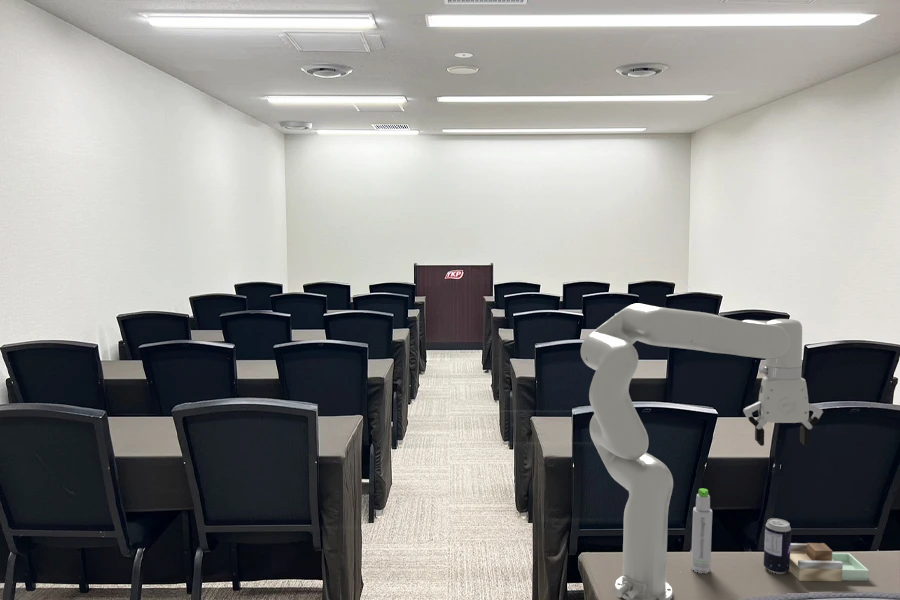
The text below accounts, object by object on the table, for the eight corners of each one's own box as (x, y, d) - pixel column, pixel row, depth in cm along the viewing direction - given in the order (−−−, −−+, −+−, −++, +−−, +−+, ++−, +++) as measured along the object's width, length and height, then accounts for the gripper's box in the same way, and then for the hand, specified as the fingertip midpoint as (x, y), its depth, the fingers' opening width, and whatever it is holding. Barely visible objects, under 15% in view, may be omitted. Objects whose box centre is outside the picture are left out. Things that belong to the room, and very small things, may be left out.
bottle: (688, 570, 171) (691, 490, 169) (694, 563, 174) (697, 485, 172) (706, 575, 168) (710, 494, 166) (712, 568, 172) (715, 489, 170)
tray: (840, 580, 166) (841, 569, 166) (822, 562, 175) (822, 552, 174) (868, 580, 166) (868, 570, 165) (848, 562, 174) (849, 552, 174)
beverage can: (792, 576, 168) (794, 528, 166) (766, 574, 169) (768, 526, 167) (785, 565, 173) (788, 518, 172) (760, 563, 174) (763, 516, 173)
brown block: (814, 562, 168) (815, 550, 168) (806, 554, 172) (807, 543, 172) (831, 562, 168) (832, 550, 168) (823, 555, 172) (824, 543, 172)
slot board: (799, 580, 166) (800, 562, 165) (780, 560, 176) (781, 543, 175) (841, 581, 165) (842, 562, 165) (821, 561, 175) (822, 543, 175)
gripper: (748, 376, 161) (747, 449, 163) (829, 376, 159) (827, 449, 161) (739, 369, 169) (739, 438, 171) (816, 368, 166) (815, 439, 168)
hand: (782, 444), depth 166 cm, fingers open, 9 cm apart
